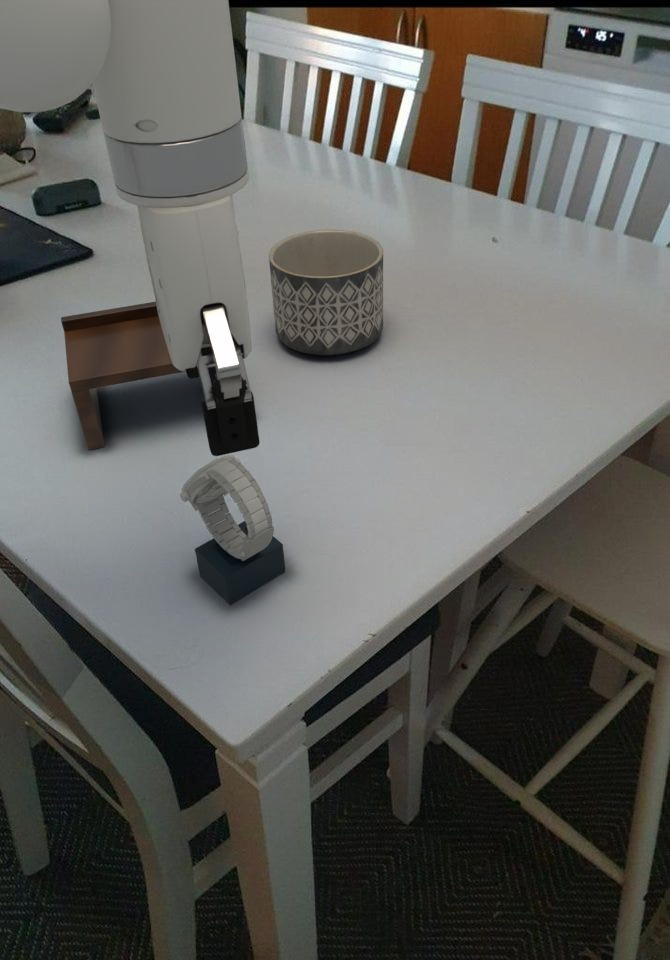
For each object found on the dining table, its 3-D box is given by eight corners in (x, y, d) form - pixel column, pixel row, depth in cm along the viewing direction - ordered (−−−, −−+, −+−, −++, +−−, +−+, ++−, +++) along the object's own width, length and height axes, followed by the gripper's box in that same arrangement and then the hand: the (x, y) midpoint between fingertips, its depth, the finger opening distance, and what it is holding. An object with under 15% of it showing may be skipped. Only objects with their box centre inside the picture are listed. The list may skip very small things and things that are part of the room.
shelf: (88, 450, 80) (65, 370, 74) (81, 392, 88) (60, 316, 82) (246, 418, 83) (236, 340, 77) (226, 366, 92) (215, 291, 86)
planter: (375, 366, 90) (375, 279, 84) (265, 360, 92) (256, 274, 86) (388, 312, 100) (389, 231, 93) (288, 307, 102) (282, 227, 95)
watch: (241, 532, 70) (225, 429, 63) (299, 583, 65) (289, 477, 58) (186, 564, 67) (163, 460, 60) (242, 619, 62) (224, 512, 56)
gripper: (99, 123, 51) (151, 358, 62) (126, 225, 38) (187, 498, 49) (216, 107, 52) (247, 339, 63) (281, 200, 39) (306, 471, 50)
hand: (221, 409), depth 56 cm, fingers open, 9 cm apart
